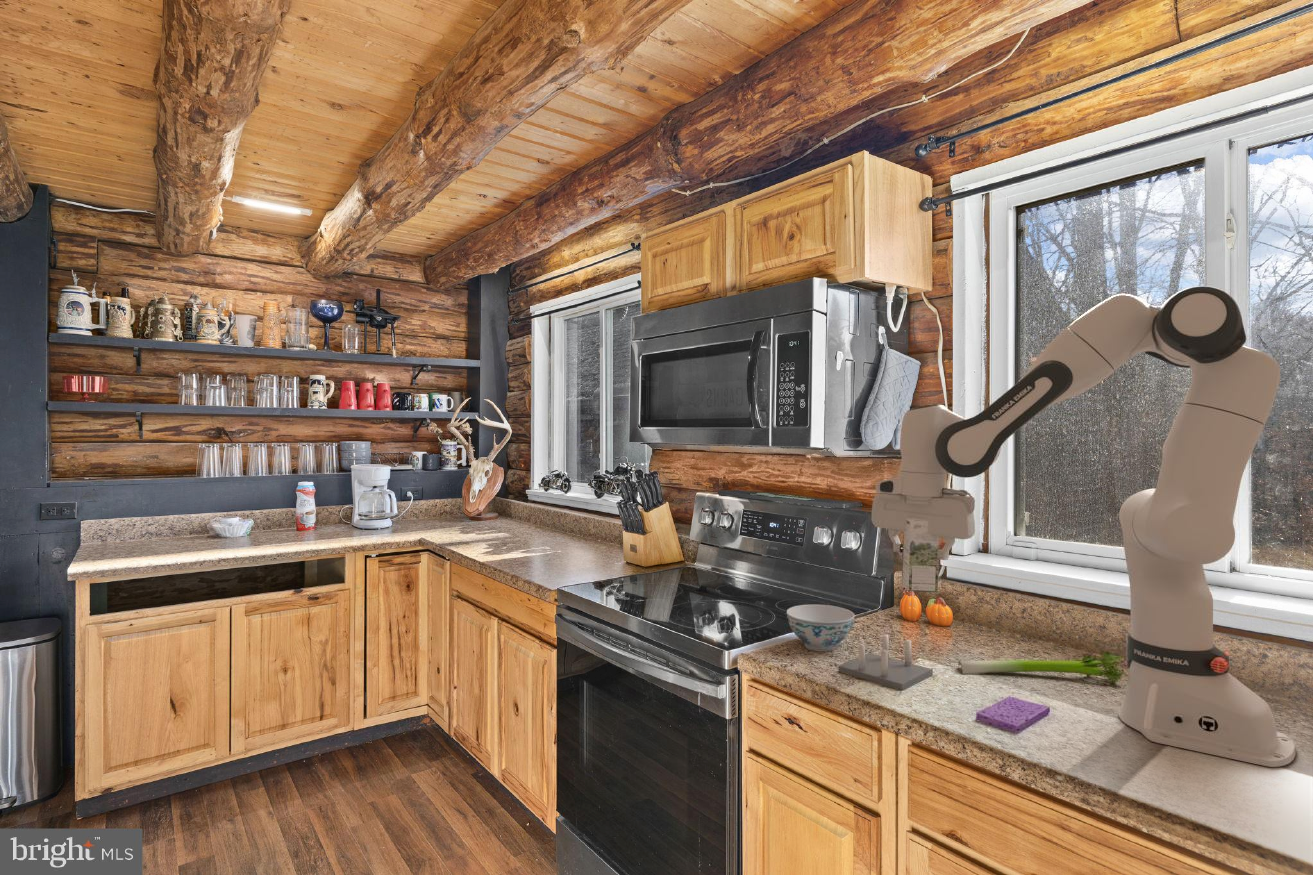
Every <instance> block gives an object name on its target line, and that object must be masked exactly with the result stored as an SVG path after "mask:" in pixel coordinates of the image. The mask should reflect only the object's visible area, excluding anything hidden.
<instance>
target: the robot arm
mask: <svg viewBox="0 0 1313 875" xmlns="http://www.w3.org/2000/svg"><path fill="white" fill-rule="evenodd" d="M1246 341H1247V334H1246V330H1245V328H1244V322H1243V318H1242V313H1241V309H1240V308H1239V306H1238V304H1237V301H1236V300H1235V299H1234V298H1233V297H1232V296H1231V295H1230V294H1229V293H1228V292H1226V291H1224V290H1222V289H1221V288H1217V287H1215V286H1207V285H1198V286H1190V287H1187V288H1184V289H1181V290H1179V291H1177V292H1176V293H1174V294H1172V295H1171V296H1170V297H1169V298H1168V299H1166V300H1165V301H1164V303H1163V304H1162V305H1161V306H1153V305H1152V304H1149V303H1147V302H1146V301H1145V300H1143V299H1142V298H1140V297H1139V296H1136V295H1132V294H1129V293H1119V294H1116V295H1113V296H1111V297H1108V298H1106V299H1105V300H1104V301H1102V302H1100V303H1098V304H1097V305H1095V306H1093V307H1092V308H1091V309H1089V310H1087V311H1086V312H1084V314H1082V315H1081V316H1079V317H1078V318H1077V319H1075V320H1074V321H1073V322H1072V323H1070V324H1068V326H1067V327H1065V328H1064V329H1063V330H1062V331H1061V332H1060V333H1059V334H1057V335H1056V336H1055V338H1053V339H1052V340H1051V341H1050V342H1049V344H1047V345H1046V347H1044V349H1043V350H1042V351H1041V353H1039V355H1038V356H1037V358H1036V359H1035V360H1034V362H1033V363H1032V364H1031V366H1030V367H1029V368H1028V369H1027V371H1026V372H1025V373H1024V375H1023V376H1022V377H1021V378H1020V379H1019V380H1018V381H1017V382H1016V383H1015V384H1014V385H1012V387H1011V388H1009V389H1008V390H1006V392H1004V393H1003V394H1002V395H1001V396H1000V397H998V398H997V399H996V400H995V401H993V402H992V403H991V404H990V405H988V406H987V407H986V408H985V409H984V410H982V411H981V412H979V413H978V414H977V415H974V416H971V417H969V418H967V417H966V418H965V416H962V415H959V414H957V413H956V412H953V411H952V410H950V409H949V408H947V407H946V406H945V405H944V404H940V403H936V404H935V403H934V404H925V405H920V406H915V407H912V408H910V409H908V410H907V411H906V412H905V413H904V415H903V418H902V421H901V426H900V436H899V437H900V439H899V451H900V454H901V455H900V456H901V462H900V465H899V469H898V470H899V471H898V476H897V477H896V476H895V477H891V478H888V479H885V480H884V479H883V480H880V481H877V482H876V483H875V486H874V487H875V492H877V494H875V495H874V497H873V500H872V505H871V523H872V524H873V526H874V527H875V528H881V529H886V530H888V532H887V533H888V534H887V535H888V537H889V539H890V541H891V542H892V543H893V546H892V547H893V548H892V549H893V550H892V551H893V553H900V554H902V553H903V542H902V541H901V540H900V537H899V535H900V532H903V531H906V520H907V517H913V518H919V519H924V520H926V521H928V534H930V535H935V536H939V537H942V543H944V545H943V547H942V549H941V548H940V549H939V550H937V554H938V555H937V559H939V560H942V561H947V560H949V558H950V557H949V554H950V552H949V551H950V550H952V547H953V546H954V544H955V543H956V539H958V540H968V539H971V538H972V537H973V536H975V533H976V523H975V514H974V513H975V512H974V511H975V507H976V504H975V502H976V500H975V497H974V496H973V495H972V494H971V493H970V492H968V490H964V489H955V488H947V477H948V476H947V474H948V473H949V474H950V475H953V476H955V477H958V478H968V479H969V478H973V477H976V476H977V477H978V476H980V475H981V474H983V473H985V472H986V471H987V470H988V469H989V468H990V467H991V466H992V465H994V464H995V462H996V461H997V460H998V458H999V457H1000V453H1001V449H1002V448H1001V447H1002V445H1003V444H1005V442H1006V441H1007V440H1008V439H1009V438H1010V437H1011V436H1012V435H1014V434H1015V433H1016V432H1017V431H1019V430H1020V429H1021V428H1022V427H1023V426H1025V425H1026V424H1028V423H1029V422H1030V421H1031V420H1032V419H1034V418H1035V417H1036V416H1037V415H1038V414H1040V413H1041V412H1043V411H1044V410H1045V409H1047V408H1049V407H1051V406H1053V405H1055V404H1056V403H1059V402H1062V401H1065V400H1068V399H1071V398H1074V397H1077V396H1079V395H1081V394H1083V393H1085V392H1086V391H1088V390H1091V389H1092V388H1093V387H1095V386H1096V385H1098V384H1100V383H1101V382H1103V381H1104V380H1106V379H1107V378H1108V377H1110V376H1111V375H1112V374H1113V373H1115V372H1116V371H1117V370H1118V369H1119V368H1121V367H1122V366H1123V365H1124V364H1125V363H1127V362H1128V361H1130V360H1131V359H1132V358H1134V357H1135V356H1137V355H1139V354H1141V353H1144V354H1146V355H1148V356H1150V357H1152V358H1155V359H1158V360H1161V361H1162V362H1164V363H1166V364H1169V365H1172V366H1175V367H1179V368H1185V369H1190V370H1191V373H1192V377H1191V382H1190V385H1189V388H1188V390H1187V393H1186V394H1185V397H1184V399H1183V401H1182V403H1181V405H1180V407H1179V410H1178V412H1177V414H1176V416H1175V419H1174V420H1173V423H1172V426H1171V428H1170V430H1169V432H1168V435H1167V436H1166V438H1165V441H1164V442H1163V445H1162V449H1161V450H1162V452H1161V453H1162V457H1161V458H1162V460H1161V466H1160V470H1159V473H1158V474H1159V475H1158V479H1157V483H1156V487H1155V488H1149V489H1148V488H1147V489H1144V490H1141V491H1138V492H1136V493H1134V494H1132V495H1130V496H1129V497H1128V498H1126V499H1125V501H1123V502H1122V504H1121V507H1120V510H1119V512H1118V515H1119V516H1118V520H1119V523H1120V526H1121V531H1122V540H1123V550H1124V555H1125V556H1124V557H1125V563H1126V569H1127V575H1128V580H1129V581H1128V583H1129V591H1130V592H1129V594H1130V633H1129V634H1128V635H1127V641H1126V646H1125V647H1126V648H1125V650H1126V655H1125V658H1126V659H1125V660H1126V664H1127V665H1126V666H1127V668H1128V674H1127V682H1126V686H1125V687H1126V688H1125V691H1124V697H1123V700H1122V704H1121V705H1120V706H1121V707H1120V709H1119V711H1118V714H1117V715H1118V718H1119V719H1120V721H1122V722H1123V723H1125V724H1126V725H1127V726H1129V727H1130V728H1133V729H1135V730H1136V731H1138V732H1140V733H1141V734H1142V735H1143V736H1144V737H1145V738H1146V739H1148V740H1149V741H1151V742H1154V743H1156V744H1162V745H1167V746H1171V747H1175V748H1180V749H1185V750H1190V751H1195V752H1199V753H1205V754H1208V755H1213V756H1218V757H1222V758H1226V759H1232V760H1235V761H1240V762H1244V763H1245V762H1246V763H1250V764H1255V765H1258V766H1259V765H1260V766H1264V767H1269V768H1270V767H1271V768H1277V767H1283V766H1286V765H1289V764H1290V763H1292V762H1293V761H1294V759H1295V758H1296V753H1297V752H1296V744H1295V742H1294V741H1293V740H1292V739H1291V738H1290V737H1289V736H1287V735H1286V734H1285V733H1282V732H1280V731H1277V726H1276V721H1275V718H1274V715H1273V712H1272V710H1271V708H1270V705H1269V704H1268V703H1267V702H1266V700H1265V699H1263V698H1262V697H1260V696H1259V695H1258V694H1256V693H1255V692H1254V691H1252V690H1251V689H1250V688H1249V687H1248V686H1246V685H1245V684H1243V683H1242V682H1241V681H1240V680H1238V678H1236V677H1235V676H1233V675H1231V673H1229V671H1230V658H1229V655H1230V653H1229V651H1228V650H1226V651H1225V652H1224V651H1222V650H1221V649H1219V648H1218V647H1216V646H1215V645H1214V644H1213V643H1214V598H1213V594H1212V592H1211V591H1210V588H1209V585H1208V581H1207V578H1206V574H1205V570H1204V565H1208V564H1212V563H1215V562H1217V561H1219V560H1221V559H1223V558H1224V557H1225V556H1226V555H1228V553H1229V552H1230V551H1231V550H1232V549H1233V546H1234V543H1235V540H1236V530H1235V525H1234V518H1235V513H1236V512H1235V511H1236V506H1237V501H1238V497H1239V492H1240V486H1241V483H1242V478H1243V475H1244V472H1245V469H1246V468H1247V467H1246V466H1247V464H1248V462H1249V460H1250V458H1251V456H1252V453H1253V451H1254V449H1255V447H1256V445H1257V442H1258V441H1259V438H1260V436H1261V434H1262V431H1263V429H1264V428H1265V425H1266V423H1267V421H1268V418H1269V416H1270V414H1271V411H1272V408H1273V406H1274V402H1275V399H1276V397H1277V396H1276V395H1277V392H1278V389H1279V388H1278V387H1279V384H1280V380H1281V367H1280V364H1279V363H1278V361H1277V360H1276V359H1275V358H1273V357H1272V356H1271V355H1269V354H1268V353H1266V352H1264V351H1261V350H1259V349H1255V348H1252V347H1248V346H1245V345H1244V344H1246Z"/></svg>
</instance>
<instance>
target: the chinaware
mask: <svg viewBox="0 0 1313 875" xmlns="http://www.w3.org/2000/svg"><path fill="white" fill-rule="evenodd" d="M786 617H787V620H788V624H789V626H790V629H791V630H792V632H793V633H794V634H795V636H796V637H797V639H799V640H800V641H801V642H803V643H804V646H805V648H807V649H808V650H810V651H816V652H830V651H833V650H835V649H836V645H838V644H840V643H841V642H842V641H843V640H845V639H846V637H847V636H848V635H849V633H850V632H851V629H852V627H853V625H854V620H855V613H854V612H852V610H850V609H846V608H844V607H841V606H835V605H827V604H799V605H794V606H792V607H789V608H788V609H786Z"/></svg>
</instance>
